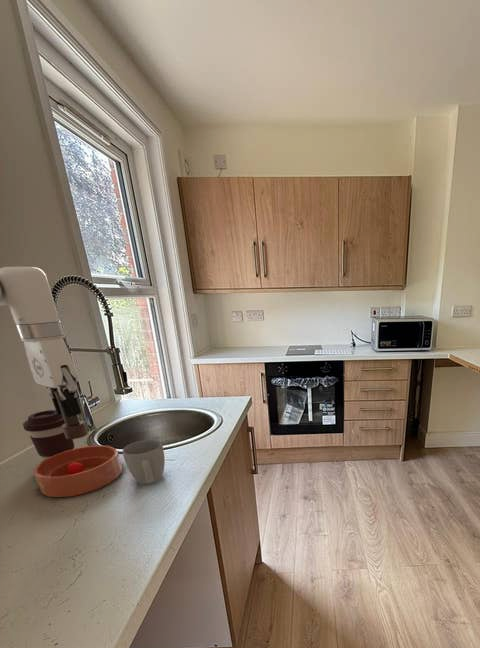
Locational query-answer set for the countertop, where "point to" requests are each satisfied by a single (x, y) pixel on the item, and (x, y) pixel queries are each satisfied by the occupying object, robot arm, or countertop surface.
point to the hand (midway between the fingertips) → (69, 413)
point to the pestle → (72, 423)
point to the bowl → (97, 473)
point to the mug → (145, 460)
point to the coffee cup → (48, 433)
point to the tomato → (75, 468)
